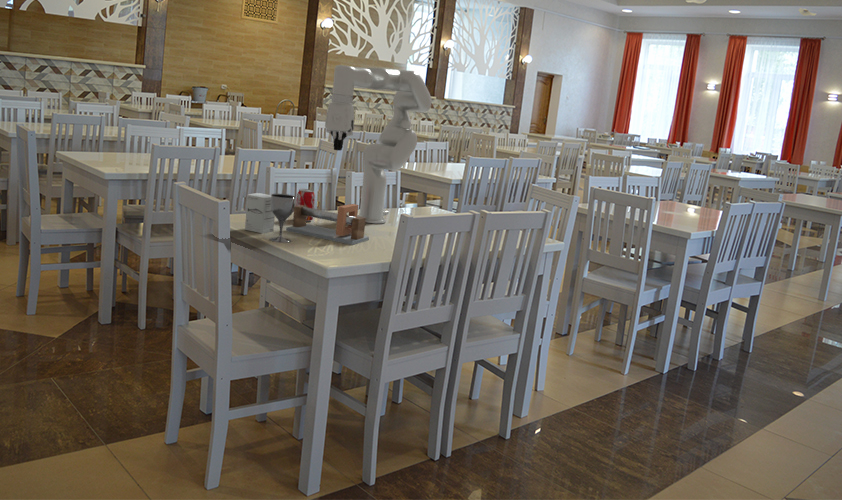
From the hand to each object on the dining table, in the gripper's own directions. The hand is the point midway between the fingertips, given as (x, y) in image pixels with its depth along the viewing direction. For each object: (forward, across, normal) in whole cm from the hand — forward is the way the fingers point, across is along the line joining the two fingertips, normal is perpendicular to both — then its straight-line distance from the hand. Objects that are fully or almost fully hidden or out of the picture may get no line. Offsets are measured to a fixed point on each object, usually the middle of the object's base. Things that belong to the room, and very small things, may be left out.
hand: (337, 150), depth 250 cm
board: (+29, +8, -16) cm, 34 cm away
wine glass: (+29, +2, -36) cm, 46 cm away
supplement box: (+29, -11, -30) cm, 43 cm away
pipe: (+24, +8, -16) cm, 30 cm away
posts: (+29, +8, -16) cm, 34 cm away
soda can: (+29, -12, 0) cm, 32 cm away
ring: (+27, +15, -16) cm, 35 cm away
